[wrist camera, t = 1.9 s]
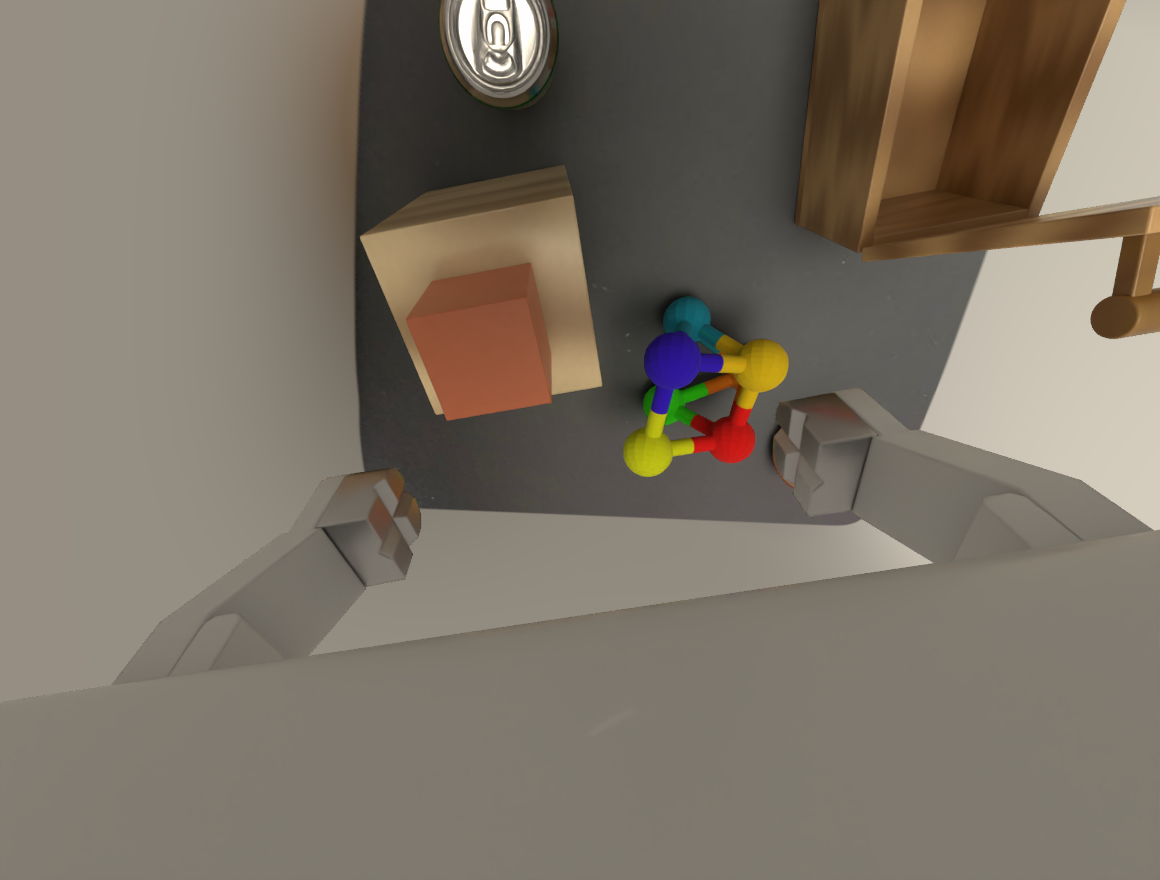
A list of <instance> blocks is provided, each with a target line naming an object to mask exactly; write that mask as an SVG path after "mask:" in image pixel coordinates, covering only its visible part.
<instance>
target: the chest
mask: <svg viewBox="0 0 1160 880" xmlns="http://www.w3.org/2000/svg"><path fill="white" fill-rule="evenodd" d="M1125 2H1126V0H820V1H819V10H818V19H817V28H816V37H815V46H814V55H813V63H812V72H811V81H810V90H809V99H808V108H807V117H806V126H805V135H804V143H803V152H802V161H801V170H800V179H799V188H798V197H797V206H796V215H795V224H796V225H799V226H801V227H803V228H805V229H807V230H809V231H812V232H814V233H816V234H818V235H820V236H822V237H825V238H827V239H829V240H831V241H833V242H835V243H838V244H840V245H842V246H844V247H846V248H848V249H851V250H853V251H855V252H857V253H859V252H862V249H863V248H865V247H871V246H876V245H881V244H887V243H892V242H898V241H903V240H909V239H914V238H920V237H925V236H931V235H936V234H942V233H947V232H953V231H958V230H964V229H969V228H975V227H980V226H986V225H991V224H997V223H1002V222H1008V221H1013V220H1019V219H1024V218H1029V217H1035V216H1039V213H1040V211H1041V208H1042V206H1043V203H1044V201H1045V198H1046V196H1047V194H1048V191H1049V189H1050V186H1051V184H1052V181H1053V179H1054V176H1055V174H1056V171H1057V169H1058V167H1059V164H1060V162H1061V159H1062V157H1063V154H1064V152H1065V149H1066V147H1067V145H1068V142H1069V140H1070V137H1071V135H1072V132H1073V130H1074V127H1075V125H1076V123H1077V120H1078V118H1079V115H1080V113H1081V110H1082V108H1083V105H1084V103H1085V100H1086V98H1087V96H1088V93H1089V91H1090V88H1091V86H1092V83H1093V81H1094V78H1095V76H1096V73H1097V71H1098V68H1099V66H1100V64H1101V61H1102V59H1103V56H1104V54H1105V51H1106V49H1107V47H1108V44H1109V42H1110V39H1111V37H1112V34H1113V32H1114V29H1115V27H1116V24H1117V22H1118V20H1119V17H1120V15H1121V12H1122V10H1123V7H1124V5H1125Z"/></svg>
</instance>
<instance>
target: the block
mask: <svg viewBox="0 0 1160 880" xmlns="http://www.w3.org/2000/svg"><path fill="white" fill-rule="evenodd" d="M406 323H407V325H408V327H409V330H410V332H411V335H412V337H413V339H414V342H415V344H416V347H417V349H418V352H419V354H420V356H421V359H422V361H423V364H424V366H425V368H426V371H427V373H428V376H429V378H430V381H431V383H432V385H433V388H434V390H435V393H436V395H437V397H438V400H439V402H440V405H441V407H442V410H443V412H444V414H445V417H446V419H447V420H454V419H459V418H465V417H471V416H477V415H483V414H489V413H494V412H500V411H506V410H512V409H518V408H524V407H530V406H535V405H541V404H547V403H552V358H551V350H550V346H549V341H548V337H547V332H546V328H545V323H544V319H543V314H542V310H541V305H540V301H539V296H538V292H537V287H536V283H535V278H534V274H533V269H532V265H531V263H526V264H520V265H515V266H510V267H504V268H499V269H494V270H488V271H483V272H478V273H472V274H467V275H462V276H456V277H451V278H446V279H441V280H435V281H431V283H430V284H429V286H428V287H427V288H426V290H425V291H424V293H423V294H422V296H421V297H420V299H419V300H418V302H417V303H416V304H415V306H414V307H413V309H412V310H411V312H410V313H409V315H408V316H407V318H406Z"/></svg>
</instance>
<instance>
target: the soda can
mask: <svg viewBox="0 0 1160 880" xmlns="http://www.w3.org/2000/svg"><path fill="white" fill-rule="evenodd" d="M438 22H439V35H440V41H441V46H442V49H443V53H444V56H445V59H446V61H447V63H448V66H449V68H450V70H451V72H452V73H453V75H454V77H455V78H456V80H457V81H458V82H459V84H460V85H461V86H462V88H463V89H464V90H465V91H466V92H467V93H468V94H469V95H471V96H472V97H473V98H475V99H476V100H477V101H479V102H481V103H483V104H485V105H487V106H490V107H493V108H497V109H508V110H522V109H527V108H530V107H532V106H534V105H535V104H537V103H538V102H539V101H540V100H541V99H542V98H543V97H544V96H545V95H546V93H547V92H548V90H549V88H550V86H551V84H552V81H553V78H554V74H555V68H556V62H557V55H558V45H559V32H558V22H557V17H556V12H555V9H554V5H553V2H552V0H441V1H440V6H439V18H438Z"/></svg>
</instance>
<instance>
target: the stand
mask: <svg viewBox="0 0 1160 880" xmlns="http://www.w3.org/2000/svg"><path fill="white" fill-rule="evenodd" d="M360 239H361V241H362V243H363V246H364V248H365V250H366V253H367V255H368V257H369V260H370V262H371V264H372V267H373V269H374V271H375V274H376V276H377V278H378V281H379V283H380V286H381V288H382V290H383V293H384V295H385V297H386V300H387V302H388V304H389V307H390V309H391V311H392V314H393V316H394V318H395V321H396V323H397V325H398V328H399V330H400V332H401V335H402V337H403V339H404V342H405V344H406V346H407V349H408V351H409V353H410V356H411V358H412V360H413V363H414V365H415V367H416V370H417V372H418V374H419V377H420V379H421V381H422V384H423V386H424V388H425V391H426V393H427V395H428V398H429V400H430V402H431V405H432V407H433V409H434V412H435V414H436V415H438V414H444V412H443V410H442V407H441V405H440V402H439V400H438V397H437V395H436V393H435V390H434V388H433V385H432V383H431V381H430V378H429V376H428V373H427V371H426V368H425V366H424V364H423V361H422V359H421V356H420V354H419V352H418V349H417V347H416V344H415V342H414V339H413V337H412V335H411V332H410V330H409V327H408V325H407V323H406V318H407V316H408V315H409V313H410V312H411V310H412V309H413V307H414V306H415V304H416V303H417V302H418V300H419V299H420V297H421V296H422V294H423V293H424V291H425V290H426V288H427V287H428V286H429V284H430V283H431V281H435V280H441V279H446V278H451V277H456V276H462V275H467V274H472V273H478V272H483V271H488V270H494V269H499V268H504V267H510V266H515V265H520V264H526V263H531V265H532V269H533V274H534V278H535V283H536V287H537V292H538V296H539V301H540V305H541V310H542V314H543V319H544V323H545V328H546V332H547V337H548V341H549V346H550V350H551V358H552V395H554V394H560V393H566V392H572V391H577V390H583V389H589V388H595V387H601V386H602V379H601V373H600V366H599V360H598V353H597V347H596V340H595V334H594V327H593V321H592V314H591V308H590V301H589V295H588V288H587V282H586V275H585V269H584V262H583V256H582V249H581V243H580V236H579V230H578V223H577V217H576V210H575V204H574V197H573V193H572V190H571V186H570V183H569V179H568V176H567V172H566V169H565V166H564V165H559V166H554V167H549V168H544V169H539V170H534V171H529V172H524V173H519V174H514V175H509V176H504V177H499V178H494V179H489V180H484V181H479V182H474V183H469V184H464V185H459V186H454V187H449V188H443V189H438V190H433V191H428V192H426V193H424V194H423V195H421V196H420V197H418V198H417V199H415V200H414V201H412V202H411V203H409V204H408V205H406V206H405V207H403V208H402V209H400V210H399V211H397V212H396V213H394V214H393V215H391V216H390V217H388V218H387V219H385V220H384V221H382V222H381V223H379V224H378V225H376V226H375V227H373V228H372V229H370V230H369V231H367V232H366V233H364V234H363V235H361V236H360Z"/></svg>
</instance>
